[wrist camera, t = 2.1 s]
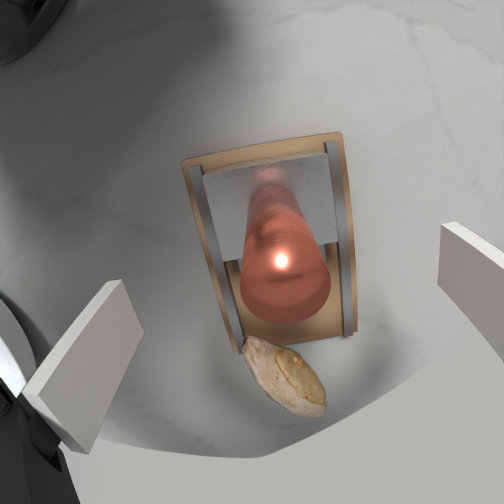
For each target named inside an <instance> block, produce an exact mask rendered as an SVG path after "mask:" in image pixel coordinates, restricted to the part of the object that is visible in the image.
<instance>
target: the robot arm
mask: <svg viewBox="0 0 504 504" xmlns="http://www.w3.org/2000/svg"><path fill="white" fill-rule="evenodd" d="M65 2H66V0H0V65H4V64H7V63H9V62H11V61H13V60H15V59H17V58H18V57H20V56H21V55H22V54H24V53H25V52H26V51H27V50H28V49H30V48H31V47H32V46H33V45H34V44H35V43H36V42H37V41H38V40H39V39H40V37H41V36H42V35H43V34H44V33H45V32H46V30H47V29H48V28H49V27H50V25H51V24H52V23H53V21H54V20H55V18H56V17H57V15H58V14H59V12H60V11H61V9H62V7H63V5H64V4H65ZM437 284H438V285H439V286H440V287H441V288H442V289H443V291H444V292H445V293H446V294H447V295H448V296H449V297H450V298H451V299H452V300H453V302H454V303H455V304H456V305H457V306H458V307H459V308H460V309H461V311H462V312H463V313H464V314H465V315H466V316H467V317H468V319H469V320H470V321H471V322H472V323H473V324H474V326H475V327H476V328H477V329H478V330H479V331H480V333H481V334H482V335H483V336H484V338H485V339H486V340H487V341H488V342H489V344H490V345H491V346H492V347H493V349H494V350H495V351H496V352H497V354H498V355H499V356H500V358H501V359H502V360H503V362H504V253H502V252H501V251H500V250H498V249H497V248H495V247H494V246H492V245H491V244H489V243H488V242H486V241H485V240H483V239H482V238H480V237H479V236H477V235H476V234H474V233H473V232H471V231H469V230H468V229H466V228H465V227H463V226H461V225H460V224H458V223H457V222H451V223H445V224H441V237H440V257H439V271H438V283H437ZM143 335H144V331H143V329H142V327H141V324H140V322H139V320H138V317H137V315H136V313H135V310H134V308H133V306H132V303H131V301H130V298H129V296H128V293H127V291H126V288H125V286H124V283H123V281H122V279H120V280H114V281H107V282H106V283H105V285H104V286H103V287H102V288H101V289H100V290H99V292H98V293H97V294H96V295H95V296H94V298H93V299H92V300H91V301H90V302H89V304H88V305H87V306H86V307H85V308H84V310H83V311H82V312H81V313H80V315H79V316H78V317H77V318H76V319H75V321H74V322H73V323H72V324H71V326H70V327H69V328H68V330H67V331H66V332H65V333H64V335H63V336H62V337H61V338H60V340H59V341H58V342H57V344H56V345H55V346H54V348H53V349H52V350H51V351H50V352H49V353H48V354H47V356H46V357H45V358H44V360H43V361H42V362H41V363H42V364H41V365H39V367H38V368H37V369H36V372H34V373H33V375H32V376H31V378H30V379H29V380H28V382H27V383H26V385H25V386H24V388H23V389H22V391H21V392H20V393H19V395H18V396H17V398H16V397H15V396H14V394H13V393H12V392H11V390H10V389H9V388H8V386H7V385H6V383H5V382H4V381H3V379H2V378H1V377H0V504H80V501H79V499H78V496H77V494H76V491H75V488H74V485H73V482H72V479H71V476H70V473H69V470H68V467H67V464H66V460H65V457H64V454H63V452H62V450H61V449H60V448H59V447H58V446H59V444H60V442H61V440H62V441H63V443H64V444H65V445H66V446H67V447H68V448H69V449H70V450H71V451H74V452H79V453H84V454H89V453H90V451H91V448H92V446H93V444H94V441H95V439H96V437H97V434H98V432H99V429H100V427H101V425H102V423H103V420H104V418H105V416H106V413H107V411H108V409H109V407H110V404H111V402H112V400H113V398H114V396H115V393H116V391H117V389H118V387H119V385H120V383H121V380H122V378H123V376H124V374H125V372H126V370H127V368H128V366H129V363H130V361H131V359H132V357H133V355H134V353H135V351H136V349H137V347H138V345H139V343H140V341H141V339H142V337H143Z"/></svg>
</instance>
